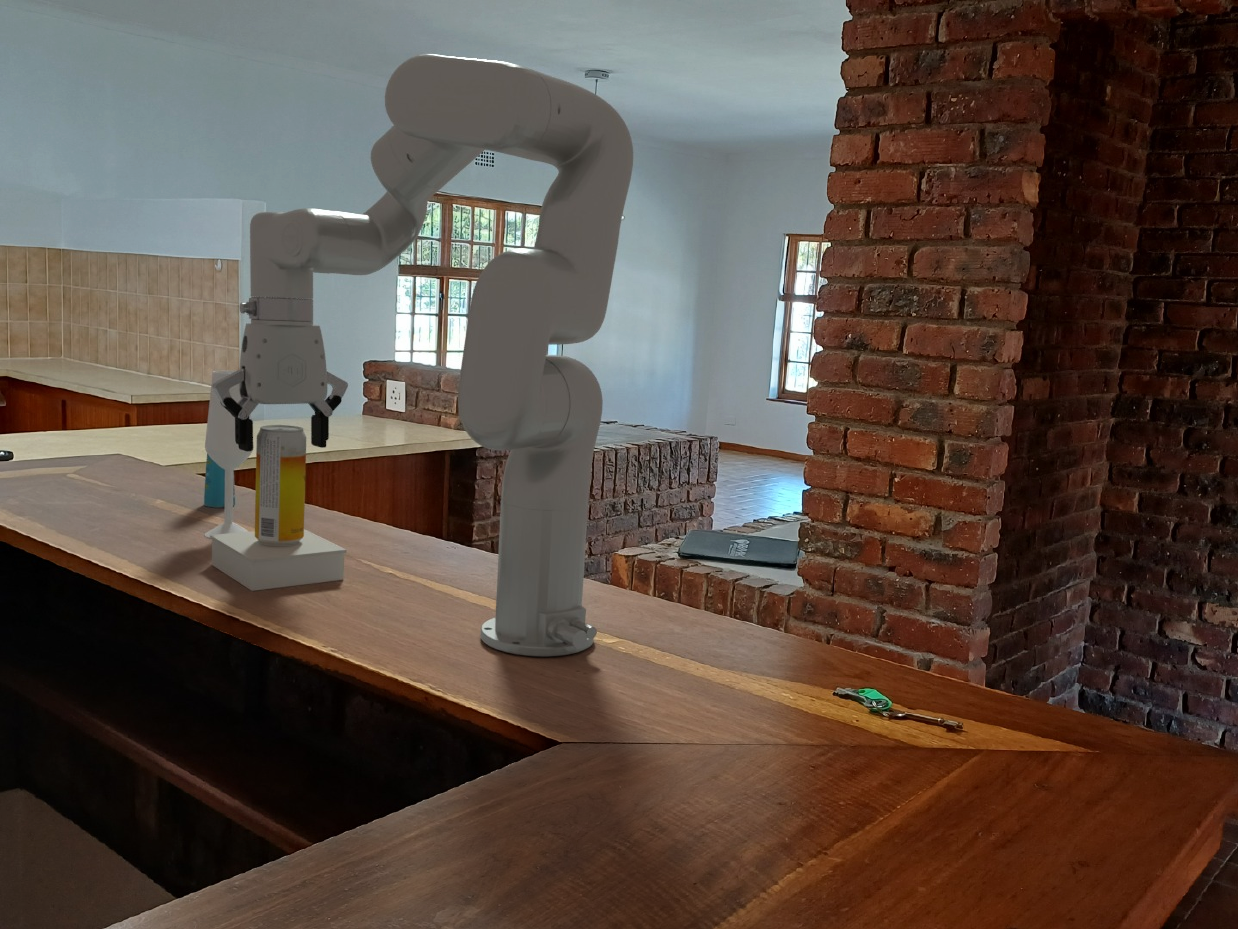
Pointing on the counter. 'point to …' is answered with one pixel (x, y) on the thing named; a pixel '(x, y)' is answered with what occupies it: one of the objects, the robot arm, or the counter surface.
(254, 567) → the riser
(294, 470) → the beer can
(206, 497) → the tube
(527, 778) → the counter surface
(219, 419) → the champagne flute
